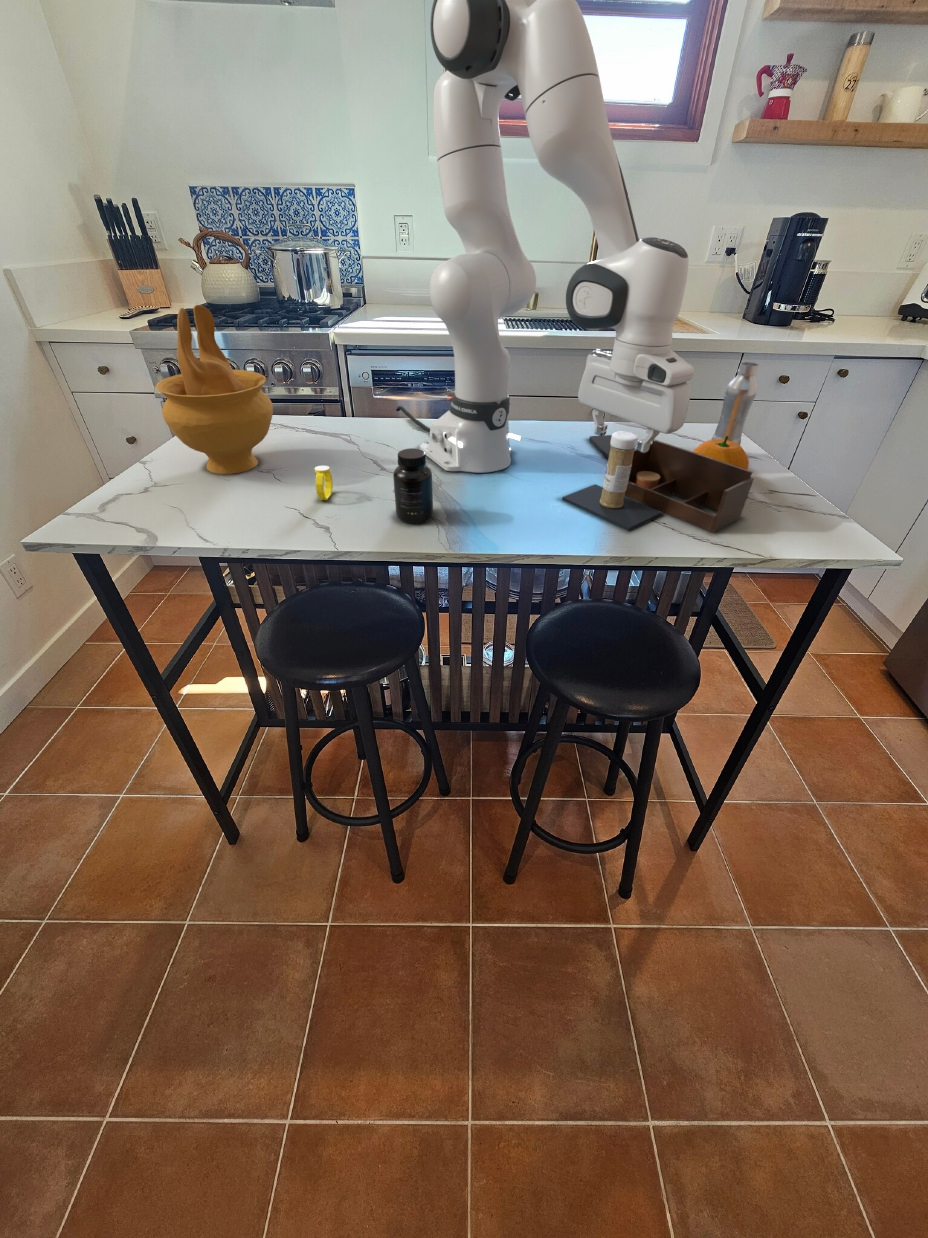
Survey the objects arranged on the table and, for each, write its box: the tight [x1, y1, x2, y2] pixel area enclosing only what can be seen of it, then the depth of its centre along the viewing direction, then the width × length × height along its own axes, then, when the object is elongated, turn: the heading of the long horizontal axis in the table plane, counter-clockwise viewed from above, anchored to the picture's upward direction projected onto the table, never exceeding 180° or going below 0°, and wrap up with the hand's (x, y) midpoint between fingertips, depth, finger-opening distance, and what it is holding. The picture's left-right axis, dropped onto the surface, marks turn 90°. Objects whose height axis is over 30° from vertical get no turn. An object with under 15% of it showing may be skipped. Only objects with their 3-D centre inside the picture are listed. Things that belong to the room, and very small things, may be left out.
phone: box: [588, 434, 612, 459], centre depth 129 cm, size 7×1×15 cm
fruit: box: [692, 436, 750, 470], centre depth 112 cm, size 12×12×10 cm
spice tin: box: [635, 471, 660, 489], centre depth 110 cm, size 5×5×4 cm
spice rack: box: [624, 438, 755, 534], centre depth 104 cm, size 22×9×9 cm, turn 40°
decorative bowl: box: [155, 304, 274, 475], centre depth 110 cm, size 21×21×30 cm
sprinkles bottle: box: [600, 430, 639, 508], centre depth 101 cm, size 5×5×13 cm
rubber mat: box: [561, 483, 663, 532], centre depth 105 cm, size 16×10×1 cm, turn 40°
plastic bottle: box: [710, 361, 760, 446], centre depth 121 cm, size 6×7×20 cm
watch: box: [314, 465, 333, 501], centre depth 105 cm, size 6×3×6 cm, turn 175°
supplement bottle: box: [392, 447, 434, 525], centre depth 97 cm, size 7×7×12 cm
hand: (620, 442), depth 98 cm, fingers open, 8 cm apart
